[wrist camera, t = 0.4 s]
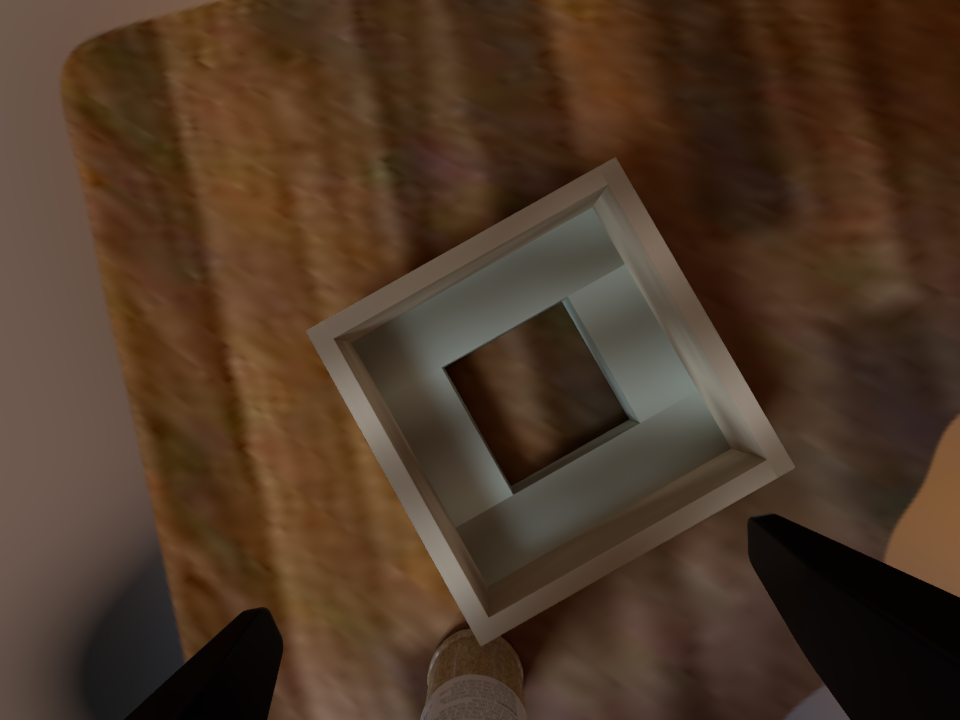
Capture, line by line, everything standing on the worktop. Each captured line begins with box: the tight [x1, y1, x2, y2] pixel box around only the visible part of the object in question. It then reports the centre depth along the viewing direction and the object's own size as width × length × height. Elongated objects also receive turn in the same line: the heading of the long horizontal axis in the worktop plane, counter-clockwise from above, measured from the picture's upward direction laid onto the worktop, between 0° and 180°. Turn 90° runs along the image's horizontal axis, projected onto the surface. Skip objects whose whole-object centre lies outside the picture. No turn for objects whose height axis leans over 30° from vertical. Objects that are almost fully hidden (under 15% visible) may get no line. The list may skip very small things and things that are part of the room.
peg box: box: [306, 157, 795, 646], centre depth 19 cm, size 14×14×4 cm
